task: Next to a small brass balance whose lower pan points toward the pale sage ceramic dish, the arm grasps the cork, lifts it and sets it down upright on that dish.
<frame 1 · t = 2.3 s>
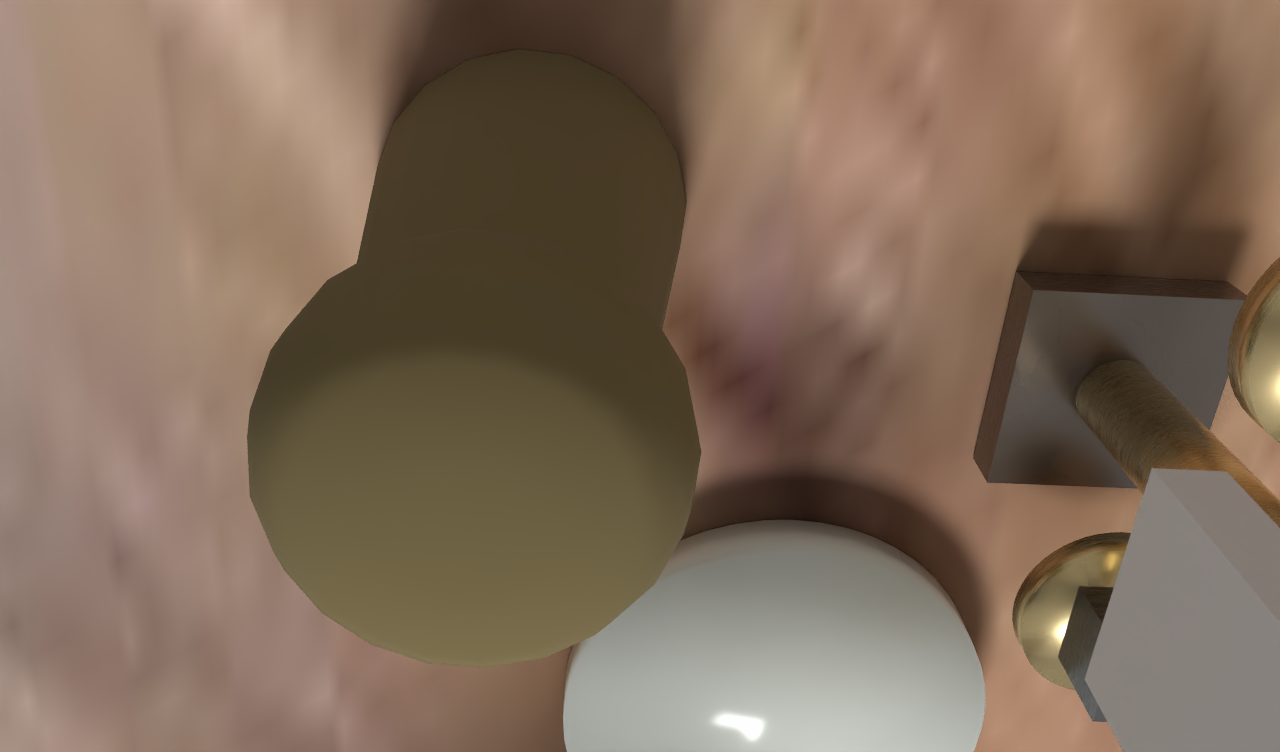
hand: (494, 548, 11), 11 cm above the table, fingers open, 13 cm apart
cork: (532, 205, 21), on the table
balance: (1095, 373, 23), on the table
dish: (767, 688, 27), on the table
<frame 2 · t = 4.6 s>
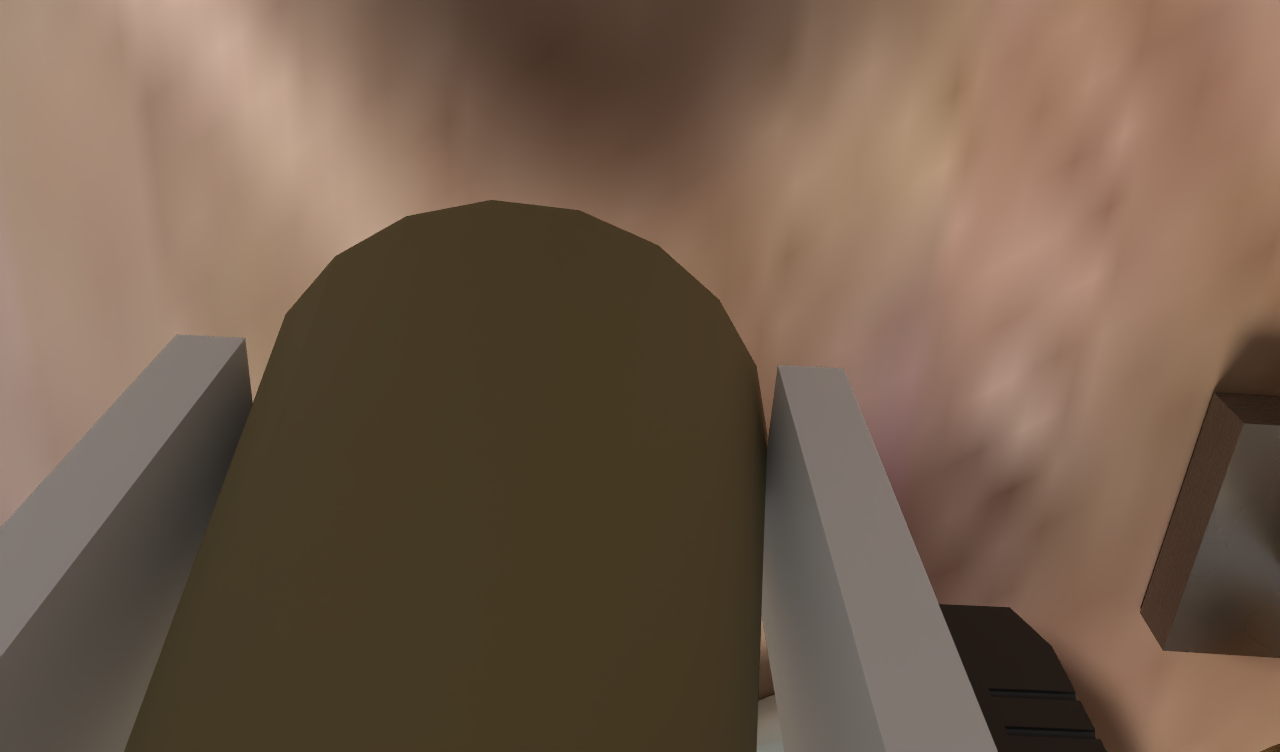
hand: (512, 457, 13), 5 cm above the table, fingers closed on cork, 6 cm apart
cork: (517, 435, 13), point 4 cm above the table, touching gripper
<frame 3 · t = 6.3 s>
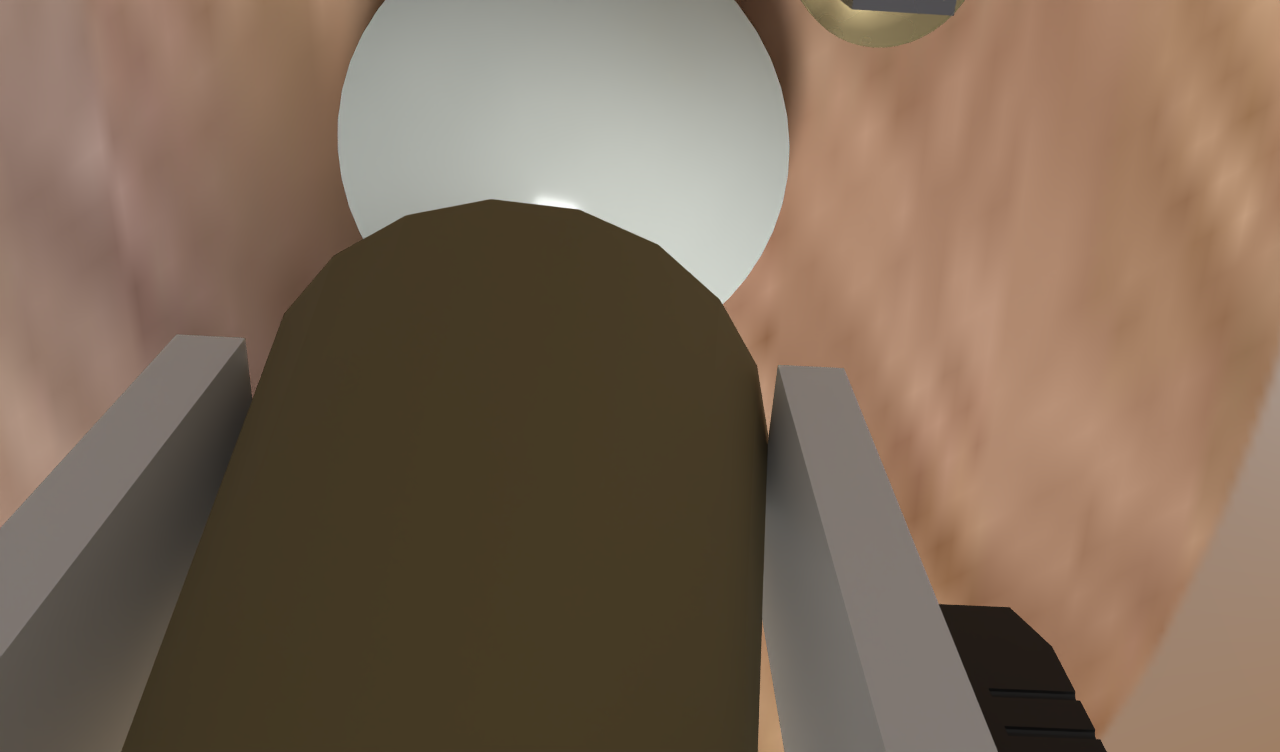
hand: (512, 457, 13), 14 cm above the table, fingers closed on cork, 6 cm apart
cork: (516, 435, 13), point 13 cm above the table, touching gripper
dish: (567, 148, 25), on the table
when the fingers open (2 cm above the table, at t = 8.2 s): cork stays where it is, resting on dish.
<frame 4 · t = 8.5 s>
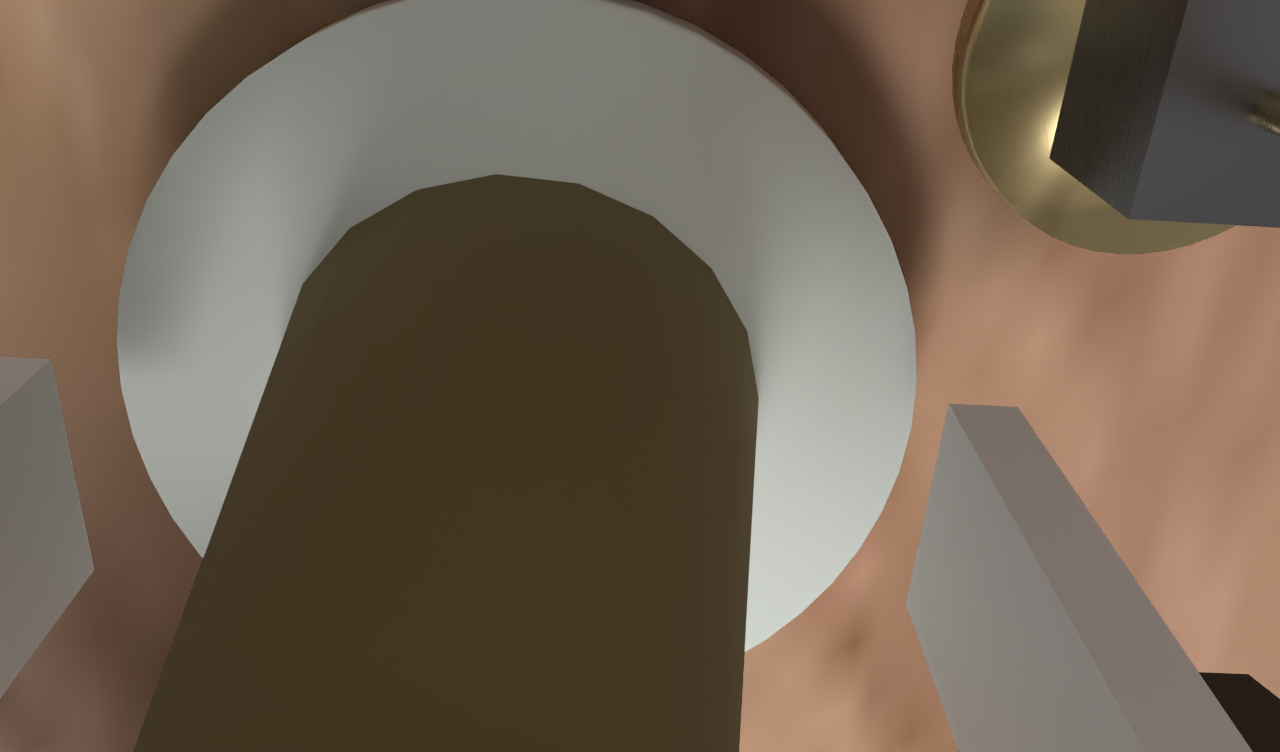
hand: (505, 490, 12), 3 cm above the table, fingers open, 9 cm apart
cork: (521, 399, 14), point 1 cm above the table, touching dish
dish: (529, 367, 15), on the table
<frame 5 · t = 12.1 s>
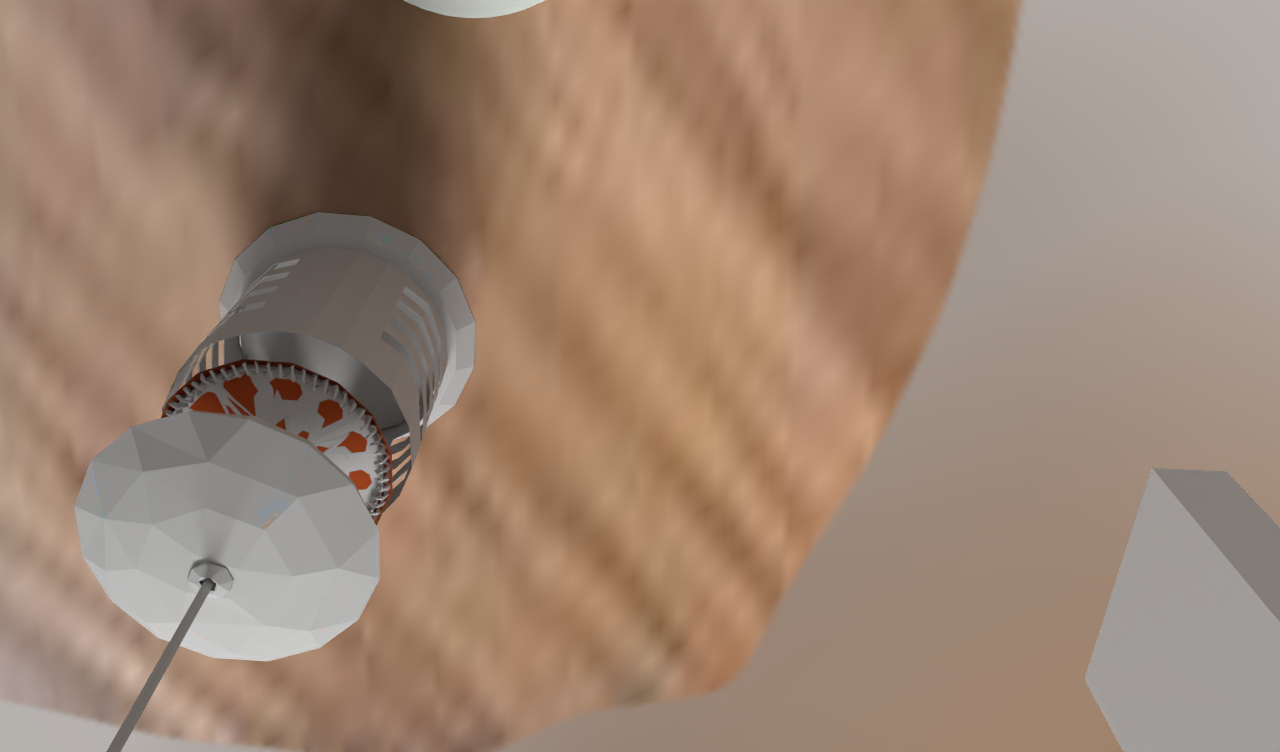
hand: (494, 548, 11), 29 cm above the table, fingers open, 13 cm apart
french press: (346, 352, 42), on the table
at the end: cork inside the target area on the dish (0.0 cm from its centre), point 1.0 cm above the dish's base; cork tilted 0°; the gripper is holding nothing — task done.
